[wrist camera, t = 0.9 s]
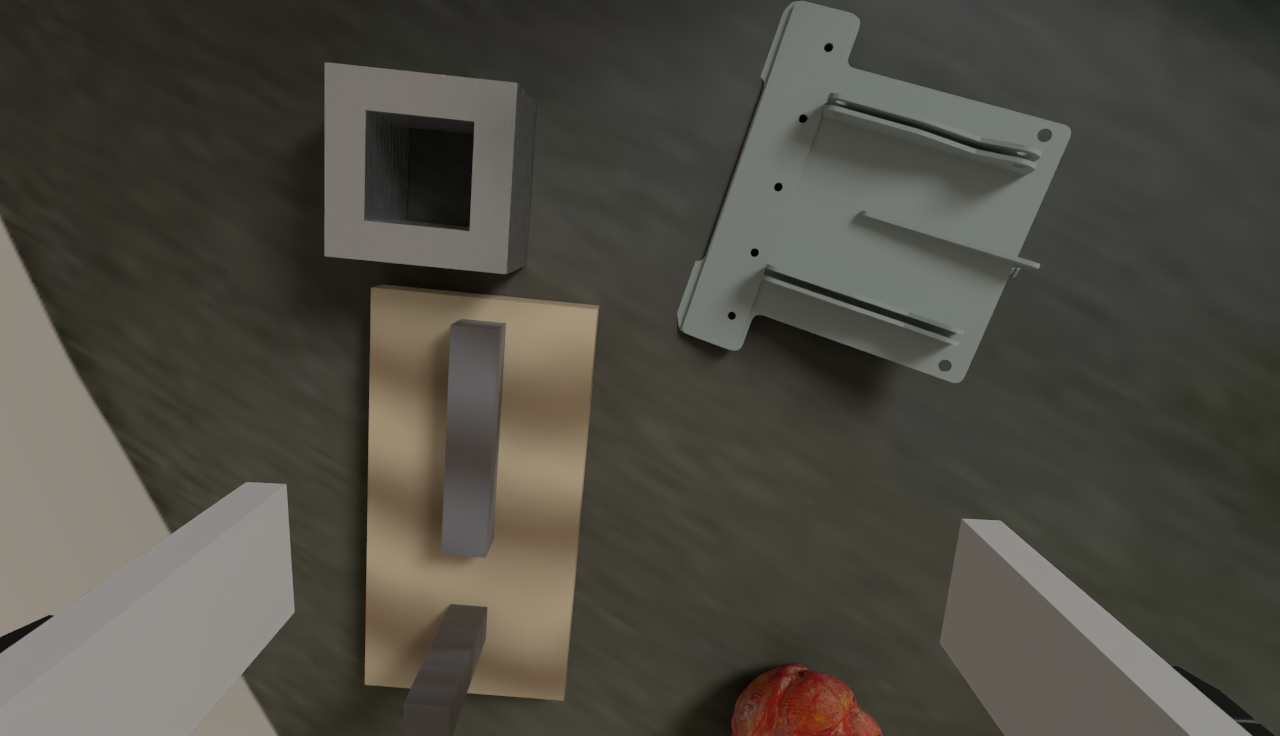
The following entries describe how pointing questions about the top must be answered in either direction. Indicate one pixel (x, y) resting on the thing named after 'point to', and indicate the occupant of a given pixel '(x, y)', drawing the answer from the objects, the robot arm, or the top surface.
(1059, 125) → the metal bracket
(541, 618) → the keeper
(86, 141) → the top surface
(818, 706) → the pomegranate
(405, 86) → the grey square socket block
